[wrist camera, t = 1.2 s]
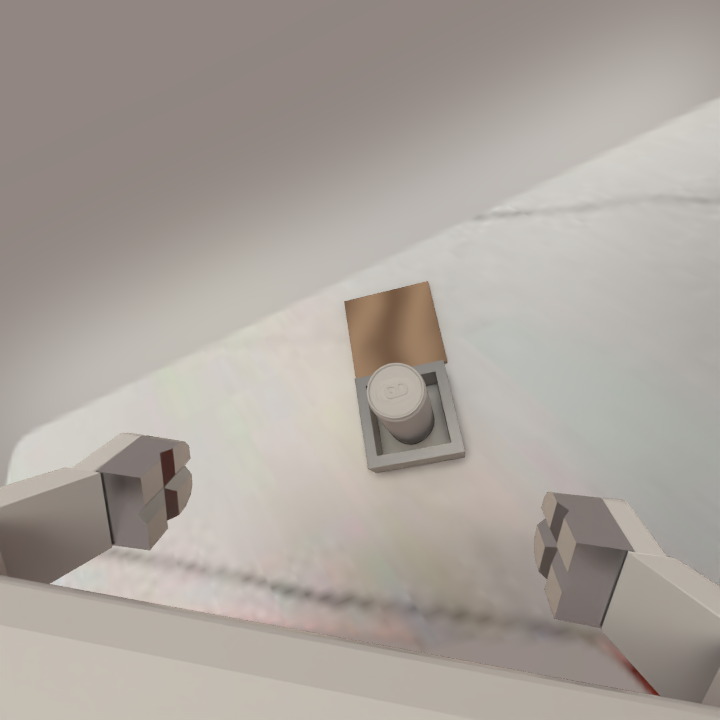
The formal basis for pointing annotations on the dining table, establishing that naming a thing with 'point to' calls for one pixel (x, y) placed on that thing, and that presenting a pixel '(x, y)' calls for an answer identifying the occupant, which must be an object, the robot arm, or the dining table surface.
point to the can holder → (414, 457)
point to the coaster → (394, 329)
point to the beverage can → (401, 402)
